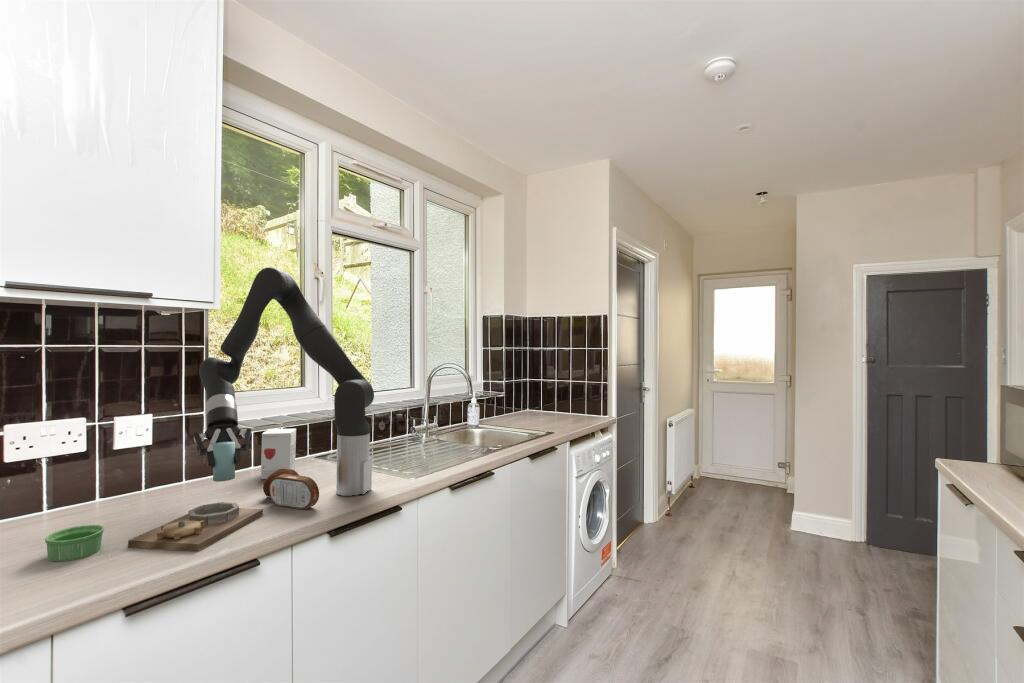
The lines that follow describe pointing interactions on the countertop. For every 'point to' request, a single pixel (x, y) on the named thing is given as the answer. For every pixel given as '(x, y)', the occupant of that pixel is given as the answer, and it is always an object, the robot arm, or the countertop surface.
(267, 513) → the countertop surface
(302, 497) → the tin
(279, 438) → the supplement box
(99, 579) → the countertop surface
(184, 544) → the board
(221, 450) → the light blue cylinder
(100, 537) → the ramekin
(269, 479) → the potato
